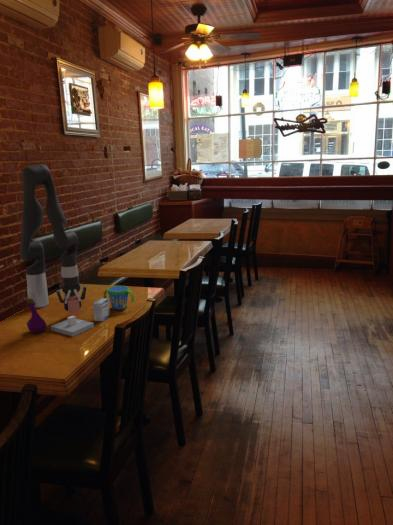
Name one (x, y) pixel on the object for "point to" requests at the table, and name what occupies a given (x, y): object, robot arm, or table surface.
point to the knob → (73, 304)
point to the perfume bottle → (35, 318)
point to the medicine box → (101, 309)
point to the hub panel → (72, 326)
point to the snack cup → (119, 296)
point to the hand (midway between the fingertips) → (73, 309)
